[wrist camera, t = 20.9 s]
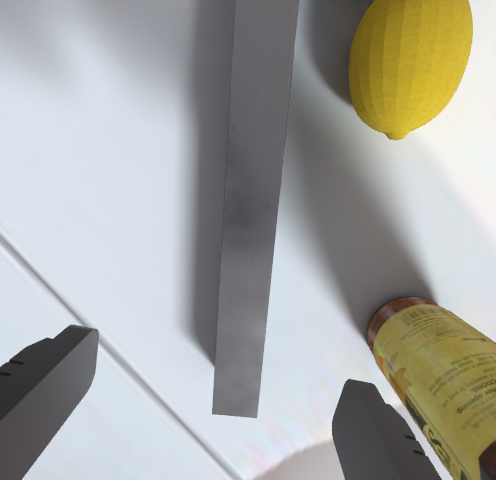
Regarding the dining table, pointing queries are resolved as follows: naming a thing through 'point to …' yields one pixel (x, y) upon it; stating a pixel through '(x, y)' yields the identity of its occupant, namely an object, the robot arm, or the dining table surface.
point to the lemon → (408, 61)
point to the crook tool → (251, 196)
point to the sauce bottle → (441, 381)
